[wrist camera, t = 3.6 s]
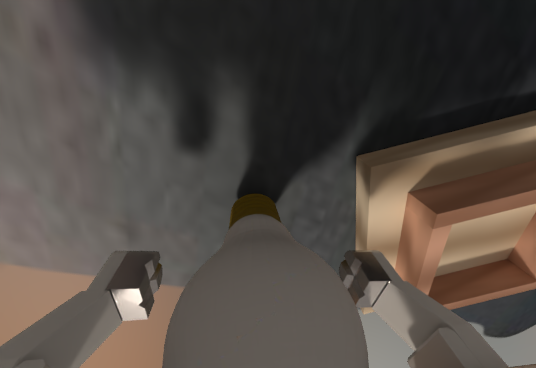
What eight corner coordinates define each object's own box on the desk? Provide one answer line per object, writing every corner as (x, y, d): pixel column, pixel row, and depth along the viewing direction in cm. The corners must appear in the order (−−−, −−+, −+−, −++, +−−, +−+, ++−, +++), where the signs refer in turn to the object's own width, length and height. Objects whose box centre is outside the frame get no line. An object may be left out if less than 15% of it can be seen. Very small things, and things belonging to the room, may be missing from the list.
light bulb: (318, 202, 13) (467, 464, 5) (252, 251, 15) (270, 516, 6) (254, 137, 10) (321, 469, 2) (182, 206, 12) (40, 558, 3)
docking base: (356, 156, 12) (396, 187, 9) (614, 90, 12) (745, 99, 9) (355, 297, 19) (376, 340, 16) (509, 259, 19) (559, 295, 16)
